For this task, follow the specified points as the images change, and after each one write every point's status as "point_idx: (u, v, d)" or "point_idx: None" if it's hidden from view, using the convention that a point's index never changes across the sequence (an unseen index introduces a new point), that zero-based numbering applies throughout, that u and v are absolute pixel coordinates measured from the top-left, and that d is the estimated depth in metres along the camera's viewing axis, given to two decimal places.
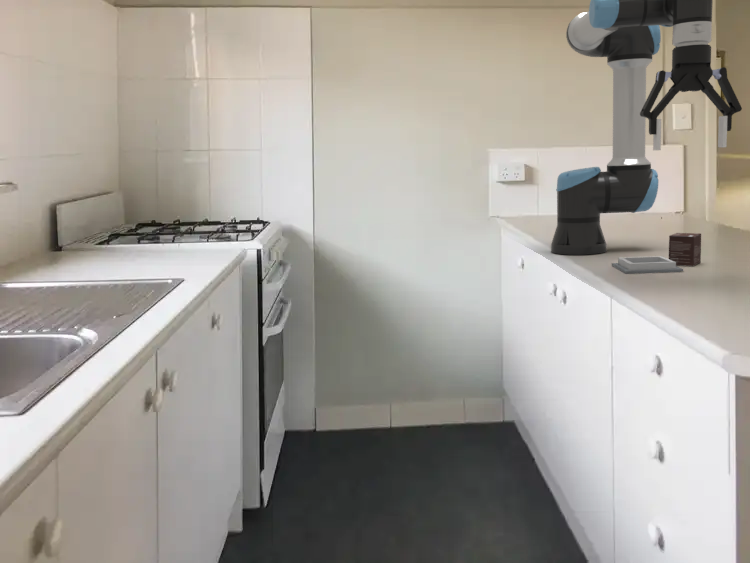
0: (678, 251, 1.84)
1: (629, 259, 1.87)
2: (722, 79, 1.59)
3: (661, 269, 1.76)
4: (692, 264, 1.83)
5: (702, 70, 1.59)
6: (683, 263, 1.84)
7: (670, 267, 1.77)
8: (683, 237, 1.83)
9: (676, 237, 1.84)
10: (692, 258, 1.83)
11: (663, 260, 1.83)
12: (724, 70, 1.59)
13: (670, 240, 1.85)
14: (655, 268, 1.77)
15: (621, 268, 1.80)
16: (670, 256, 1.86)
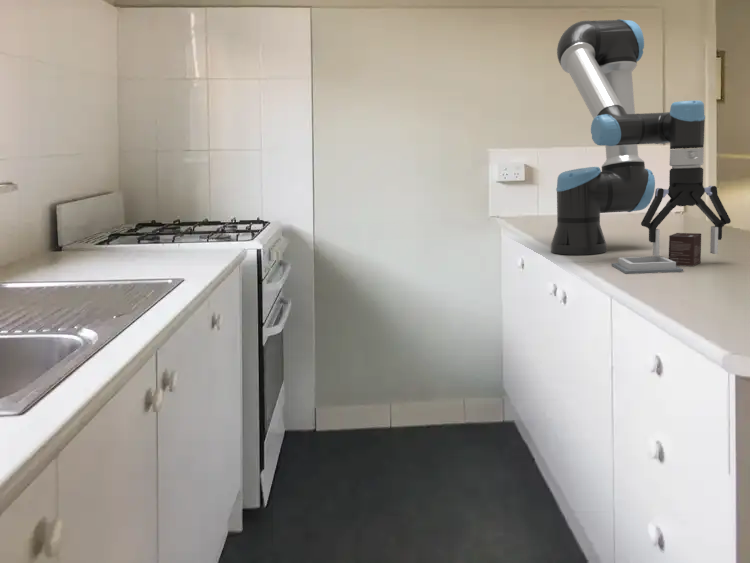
0: (678, 251, 1.84)
1: (629, 259, 1.87)
2: (713, 196, 1.82)
3: (661, 269, 1.76)
4: (692, 264, 1.83)
5: (695, 188, 1.82)
6: (683, 263, 1.84)
7: (670, 267, 1.77)
8: (683, 237, 1.83)
9: (676, 237, 1.84)
10: (692, 258, 1.83)
11: (663, 260, 1.83)
12: (715, 188, 1.82)
13: (670, 240, 1.85)
14: (655, 268, 1.77)
15: (621, 268, 1.80)
16: (670, 256, 1.86)
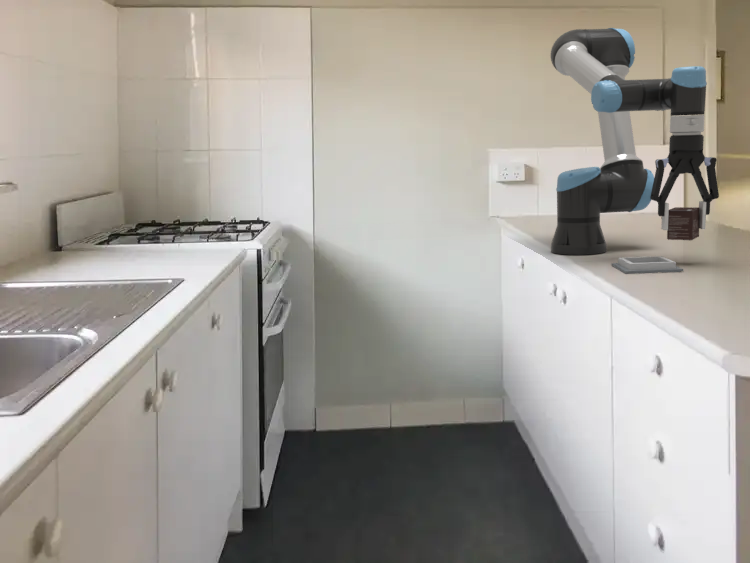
0: (676, 226, 1.84)
1: (629, 259, 1.87)
2: (710, 167, 1.82)
3: (661, 269, 1.76)
4: (691, 238, 1.82)
5: (696, 154, 1.81)
6: (682, 237, 1.84)
7: (670, 267, 1.77)
8: (682, 211, 1.83)
9: (675, 211, 1.84)
10: (691, 232, 1.82)
11: (663, 260, 1.83)
12: (714, 160, 1.81)
13: (669, 215, 1.85)
14: (655, 268, 1.77)
15: (621, 268, 1.80)
16: (669, 231, 1.85)
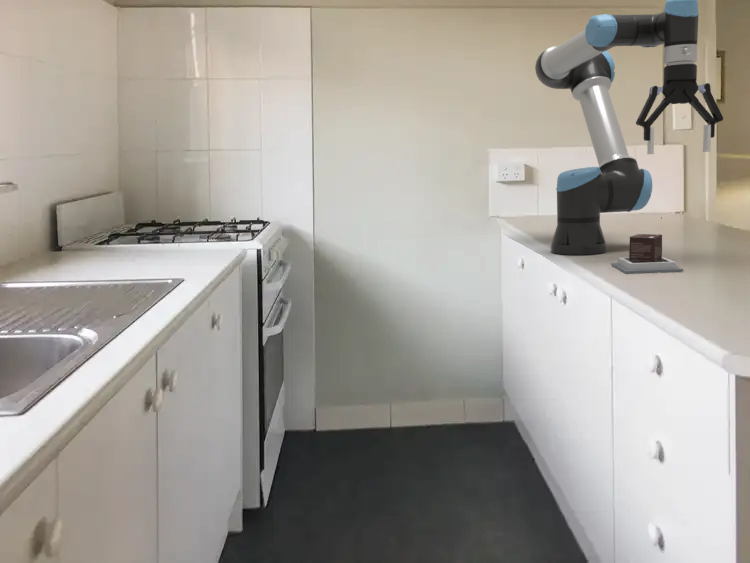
0: (638, 253, 1.80)
1: None
2: (706, 93, 1.85)
3: (661, 269, 1.76)
4: None
5: (689, 85, 1.85)
6: None
7: (670, 267, 1.77)
8: (643, 238, 1.79)
9: (636, 238, 1.80)
10: (653, 260, 1.78)
11: (663, 260, 1.83)
12: (708, 85, 1.85)
13: (630, 241, 1.81)
14: (655, 268, 1.77)
15: (621, 268, 1.80)
16: (631, 258, 1.81)
